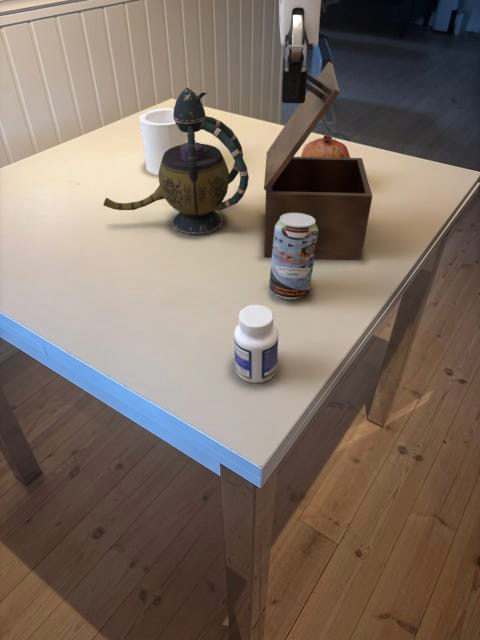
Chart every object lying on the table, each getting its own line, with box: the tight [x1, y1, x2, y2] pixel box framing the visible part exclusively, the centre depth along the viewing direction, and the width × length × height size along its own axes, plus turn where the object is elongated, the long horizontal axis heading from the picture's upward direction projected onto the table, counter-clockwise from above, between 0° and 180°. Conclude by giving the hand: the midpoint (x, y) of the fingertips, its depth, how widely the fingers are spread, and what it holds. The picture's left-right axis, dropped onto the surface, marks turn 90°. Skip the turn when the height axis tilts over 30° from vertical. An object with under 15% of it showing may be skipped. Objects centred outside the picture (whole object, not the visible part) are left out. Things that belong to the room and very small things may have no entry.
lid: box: [263, 61, 341, 192], centre depth 72 cm, size 17×14×5 cm
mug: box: [138, 107, 188, 176], centre depth 106 cm, size 14×10×11 cm
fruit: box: [300, 133, 351, 158], centre depth 97 cm, size 11×10×10 cm
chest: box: [263, 156, 373, 261], centre depth 81 cm, size 16×14×11 cm
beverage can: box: [268, 213, 318, 300], centre depth 70 cm, size 6×7×12 cm
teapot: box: [103, 87, 250, 237], centre depth 81 cm, size 12×25×23 cm, turn 95°
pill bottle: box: [233, 304, 279, 384], centre depth 59 cm, size 5×5×9 cm
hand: (293, 93), depth 70 cm, fingers closed on lid, 6 cm apart
